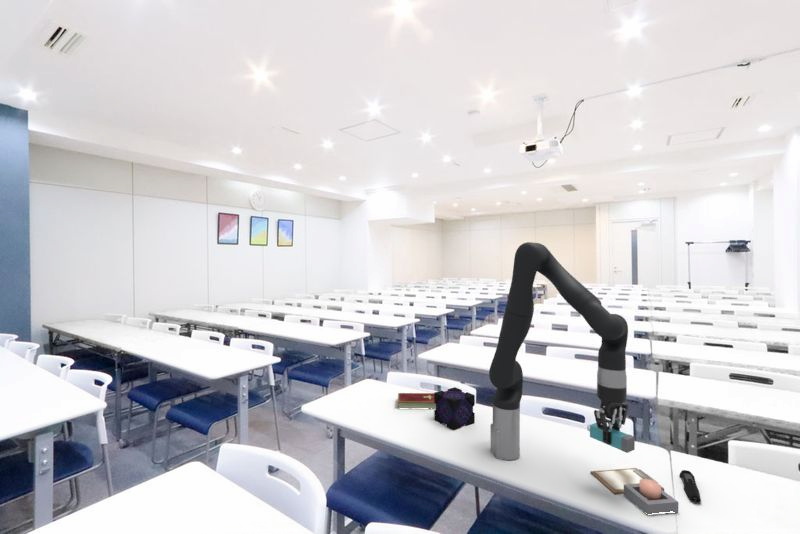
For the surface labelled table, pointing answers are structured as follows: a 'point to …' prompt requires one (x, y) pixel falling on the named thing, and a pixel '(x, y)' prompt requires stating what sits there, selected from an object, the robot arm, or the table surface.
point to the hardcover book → (416, 400)
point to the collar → (653, 505)
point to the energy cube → (454, 408)
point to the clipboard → (620, 478)
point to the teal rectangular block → (614, 438)
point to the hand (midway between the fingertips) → (611, 441)
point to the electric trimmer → (690, 485)
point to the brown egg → (650, 489)
